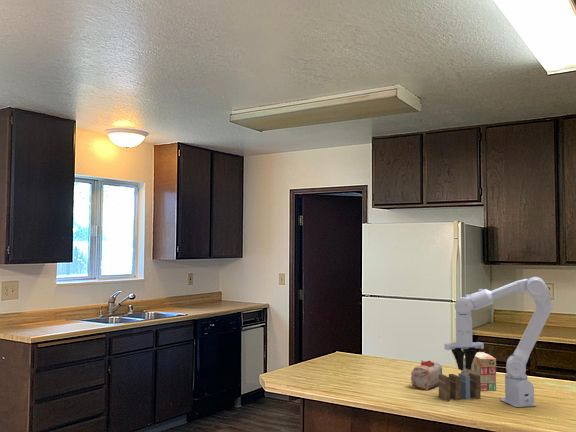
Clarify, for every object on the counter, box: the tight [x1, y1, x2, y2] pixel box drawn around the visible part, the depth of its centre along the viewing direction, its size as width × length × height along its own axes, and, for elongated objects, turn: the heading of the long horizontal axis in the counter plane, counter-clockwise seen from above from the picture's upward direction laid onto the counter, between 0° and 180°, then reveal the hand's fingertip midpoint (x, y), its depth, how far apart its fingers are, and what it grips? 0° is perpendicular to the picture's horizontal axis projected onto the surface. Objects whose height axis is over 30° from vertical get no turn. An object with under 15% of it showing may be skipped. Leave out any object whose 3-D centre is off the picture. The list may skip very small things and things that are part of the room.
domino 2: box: [448, 373, 461, 401], centre depth 204 cm, size 2×5×8 cm, turn 14°
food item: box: [410, 360, 443, 391], centre depth 221 cm, size 14×8×10 cm, turn 141°
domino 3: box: [469, 373, 482, 400], centre depth 206 cm, size 2×5×8 cm, turn 13°
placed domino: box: [457, 372, 471, 400], centre depth 205 cm, size 2×5×8 cm, turn 14°
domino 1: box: [438, 373, 451, 402], centre depth 203 cm, size 2×5×8 cm, turn 14°
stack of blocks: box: [460, 351, 497, 392], centre depth 225 cm, size 21×6×12 cm, turn 2°
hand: (464, 369), depth 205 cm, fingers open, 2 cm apart
